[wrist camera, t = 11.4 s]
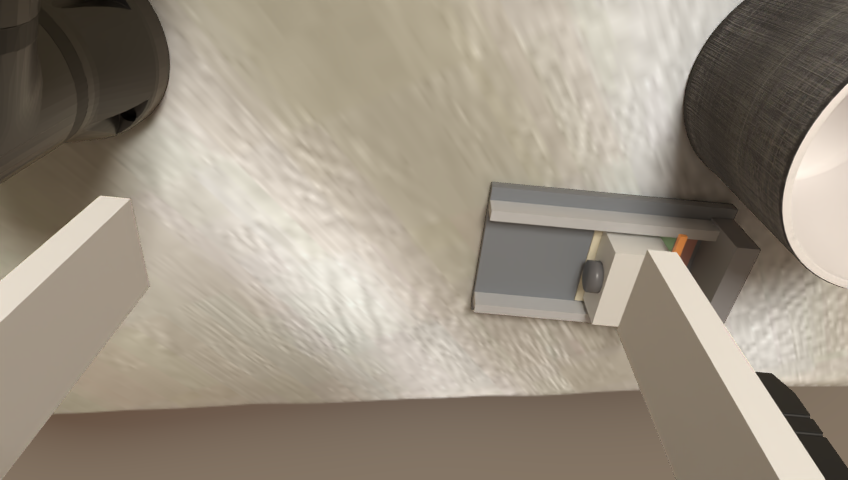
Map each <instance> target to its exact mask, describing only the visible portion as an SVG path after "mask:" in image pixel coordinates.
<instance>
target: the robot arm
mask: <svg viewBox="0 0 848 480" xmlns="http://www.w3.org/2000/svg"><path fill="white" fill-rule="evenodd" d="M168 76H169V54H168V48H167V42H166V39H165V35H164V32H163V29H162V26H161V24H160V21H159V19H158V17H157V15H156V13H155V11H154V9H153V7H152V6H151V4H150V2H149V1H148V0H0V184H1V183H2V182H4V181H5V180H7V179H8V178H10V177H11V176H13V175H14V174H16V173H18V172H19V171H21V170H22V169H24V168H25V167H27V166H29V165H30V164H32V163H33V162H35V161H36V160H38V159H39V158H41V157H43V156H44V155H46V154H47V153H49V152H50V151H52V150H53V149H55V148H56V147H58V146H59V145H61V144H63V143H68V142H77V141H86V140H95V139H103V138H108V137H112V136H115V135H118V134H120V133H123V132H125V131H127V130H129V129H130V128H132V127H133V126H135V125H136V124H138V123H139V122H140V121H142V120H143V119H145V118H146V117H147V116H148V115H150V114H151V113H152V111H153V110H154V109H155V108H156V107H157V105H158V104H159V102H160V101H161V99H162V97H163V95H164V92H165V89H166V86H167V82H168ZM149 287H150V283H149V279H148V274H147V270H146V265H145V261H144V256H143V252H142V247H141V243H140V238H139V234H138V229H137V225H136V220H135V216H134V211H133V207H132V202H131V199H129V198H119V197H109V196H99V197H98V198H97V199H95V200H94V201H93V202H92V203H91V204H90V205H88V206H87V207H86V208H85V209H84V210H83V211H81V212H80V213H79V214H78V215H77V216H76V217H74V218H73V219H72V220H71V221H70V222H68V223H67V224H66V225H65V226H64V227H63V228H61V229H60V230H59V231H58V232H57V233H56V234H54V235H53V236H52V237H51V238H50V239H49V240H47V241H46V242H45V243H44V244H43V245H42V246H40V247H39V248H38V249H37V250H36V251H35V252H33V253H32V254H31V255H30V256H29V257H28V258H26V259H25V260H24V261H23V262H22V263H21V264H19V265H18V266H17V267H16V268H15V269H14V270H12V271H11V272H10V273H9V274H8V275H7V276H5V277H4V278H3V279H2V280H1V281H0V480H2V479H3V478H4V476H5V475H6V474H7V472H8V471H9V470H10V468H11V467H12V466H13V465H14V463H15V462H16V461H17V459H18V458H19V457H20V455H21V454H22V453H23V451H24V450H25V449H26V448H27V446H28V445H29V444H30V442H31V441H32V439H33V438H34V437H35V436H36V435H37V433H38V432H39V431H40V429H41V428H42V427H43V425H44V424H45V423H46V421H47V420H48V419H49V418H50V416H51V415H52V414H53V412H54V411H55V410H56V408H57V407H58V406H59V404H60V403H61V402H62V401H63V399H64V398H65V397H66V395H67V394H68V393H69V391H70V390H71V389H72V388H73V386H74V385H75V384H76V382H77V381H78V380H79V378H80V377H81V376H82V374H83V373H84V372H85V371H86V369H87V368H88V367H89V365H90V364H91V363H92V361H93V360H94V359H95V357H96V356H97V355H98V354H99V352H100V351H101V350H102V348H103V347H104V346H105V344H106V343H107V342H108V340H109V339H110V338H111V337H112V335H113V334H114V333H115V331H116V330H117V329H118V327H119V326H120V325H121V323H122V322H123V321H124V320H125V318H126V317H127V316H128V314H129V313H130V312H131V310H132V309H133V308H134V307H135V305H136V304H137V303H138V301H139V300H140V299H141V297H142V296H143V295H144V293H145V292H146V291H147V290H148V288H149ZM617 332H618V335H619V337H620V340H621V342H622V345H623V347H624V350H625V353H626V355H627V358H628V360H629V363H630V365H631V368H632V370H633V373H634V375H635V378H636V380H637V383H638V385H639V388H640V390H641V393H642V395H643V398H644V400H645V403H646V406H647V408H648V410H649V413H650V416H651V418H652V421H653V423H654V426H655V428H656V431H657V433H658V436H659V438H660V441H661V443H662V446H663V448H664V451H665V454H666V456H667V458H668V461H669V464H670V466H671V469H672V471H673V474H674V476H675V479H676V480H848V468H847V466H846V465H845V464H844V462H843V461H842V459H841V458H840V456H839V455H838V454H837V452H836V451H835V449H834V448H833V447H832V445H831V444H830V442H829V441H828V440H827V438H825V437H823V435H822V434H823V432H822V431H821V430H820V428H819V427H818V425H817V424H816V422H815V421H814V420H813V419H810V414H809V413H808V411H807V410H806V408H805V407H804V406H803V404H802V403H801V401H800V400H799V398H798V397H797V396H796V394H795V393H794V392H793V391H792V390H791V389H789V388H788V387H787V386H786V385H785V384H784V383H782V382H781V381H780V380H779V379H778V378H777V377H775V376H774V375H773V374H772V373H762V372H755V371H754V370H753V368H752V367H751V365H750V363H749V362H748V360H747V359H746V357H745V356H744V354H743V353H742V351H741V350H740V348H739V347H738V345H737V344H736V342H735V341H734V339H733V337H732V336H731V334H730V333H729V331H728V330H727V328H726V327H725V325H724V324H723V322H722V321H721V319H720V318H719V316H718V315H717V313H716V311H715V310H714V308H713V307H712V305H711V304H710V302H709V301H708V299H707V298H706V296H705V295H704V293H703V292H702V290H701V289H700V287H699V285H698V284H697V282H696V281H695V279H694V278H693V276H692V275H691V273H690V272H689V270H688V269H687V267H686V266H685V264H684V263H683V261H682V259H681V258H680V256H679V255H678V253H677V252H668V251H658V250H648V249H647V252H646V254H645V257H644V260H643V262H642V265H641V268H640V270H639V273H638V276H637V278H636V281H635V284H634V286H633V289H632V292H631V294H630V297H629V300H628V302H627V305H626V307H625V310H624V313H623V315H622V318H621V321H620V323H619V326H618V329H617Z"/></svg>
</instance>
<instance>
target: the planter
mask: <svg viewBox="0 0 848 480" xmlns="http://www.w3.org/2000/svg"><path fill="white" fill-rule="evenodd" d="M684 119H685V126H686V131H687V135H688V138H689V140H690V143H691V145H692V147H693V149H694V151H695V152H696V154H697V155H698V156H699V158H700V159H701V160H702V161H703V162H704V164H705V165H706V166H707V167H709V168H710V169H711V170H712V171H713V172H714V173H716V174H717V176H718V177H719V178H720V179H721V180H722V181H723V182H724V183H725V184H726V185H727V186H728V187H729V188H730V189H731V190H732V191H733V192H734V193H735V194H736V196H737V197H738V198H739V199H740V200H741V201H742V202H743V203H744V204H745V205H746V206H747V207H748V208H749V209H750V210H751V211H752V212H753V213H754V214H755V215H756V217H757V218H758V219H759V220H760V221H761V222H762V223H763V224H764V225H765V226H766V227H767V228H768V229H769V230H770V231H771V232H772V233H773V234H774V235H775V236H776V237H777V238H778V239H779V241H780V242H781V243H782V244H783V245H784V246H785V247H786V248H787V249H788V250H789V251H790V252H791V253H792V254H793V255H794V256H795V257H796V258H797V259H798V260H799V261H800V262H801V263H802V264H803V265H804V266H805V267H806V268H807V269H808V270H809V271H811V272H812V273H813V274H815V275H816V276H818V277H819V278H821V279H823V280H825V281H827V282H829V283H831V284H834V285H836V286H839V287H842V288H846V289H848V0H744V1H743V2H742V3H741V4H740V5H739V6H737V7H736V8H735V9H734V10H733V11H732V12H731V13H730V14H729V15H728V16H727V17H726V18H725V19H724V20H723V22H722V23H721V24H720V25H719V26H718V27H717V29H716V30H715V31H714V33H713V34H712V35H711V37H710V38H709V40H708V41H707V43H706V44H705V46H704V47H703V49H702V51H701V53H700V54H699V56H698V58H697V60H696V62H695V65H694V67H693V70H692V72H691V75H690V78H689V81H688V85H687V89H686V95H685V103H684Z"/></svg>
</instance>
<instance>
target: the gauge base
mask: <svg viewBox="0 0 848 480" xmlns="http://www.w3.org/2000/svg"><path fill="white" fill-rule="evenodd" d="M737 211H738V209H737V208H736V207H735V206H734V205H733V204H722V203H712V202H701V201H690V200H680V199H669V198H658V197H648V196H637V195H626V194H616V193H605V192H595V191H584V190H573V189H563V188H552V187H541V186H531V185H520V184H509V183H499V182H491V188H490V194H489V200H488V206H487V212H486V218H485V224H484V230H483V236H482V242H481V247H480V253H479V259H478V265H477V271H476V277H475V283H474V289H473V295H472V301H471V309H472V310H474V312H477V313H488V314H499V315H510V316H521V317H532V318H544V319H555V320H566V321H577V322H588V323H591V320H590V317H589V314H588V311H587V308H586V305H585V302H584V299H583V296H584V293H585V291H584V289H583V285H582V273H583V268H584V265H585V262H586V261H587V260H595V257H596V254H597V250H598V247H599V244H600V241H601V237H602V234H603V231H608V232H619V233H629V234H640V235H651V236H660V237H661V239H662V240H663V242H664V243H665V245H666V246H667V248H668V250H669V251H670V252H672V250H673V248H674V245H675V242H676V240H677V237H678V235H679V234H684V235H687V237H688V238H687V241H686V243H685V246H684V248H683V250H682V253H681V255H680V258H681V259H682V261H683V263H684V264H685V266H686V267H687V269H688V270H689V272H690V273H691V275H692V276H693V278H694V279H695V281H696V282H697V284H698V285H699V287H700V289H701V290H702V292H703V293H704V295H705V296H706V298H707V299H708V301H709V302H710V304H711V305H712V307H713V308H714V310H715V311H716V313H717V315H718V316H719V318H720V319H721V321H722V322H723V324H724V323H725V321H726V319H727V317H728V315H729V313H730V311H731V309H732V307H733V305H734V303H735V301H736V299H737V297H738V295H739V293H740V291H741V289H742V287H743V285H744V283H745V281H746V279H747V277H748V275H749V273H750V271H751V269H752V267H753V265H754V263H755V261H756V259H757V257H758V255H759V253H760V251H761V249H760V248H759V247H758V246H757V245H756V244H755V243H754V242H753V241H752V239H751V238H750V237H749V236H748V235H747V234H746V233H745V232H744V230H743V229H742V228H741V227H740V226H739V225H738V224H737V223H736V222H735V220H734V218H735V216H736V213H737Z"/></svg>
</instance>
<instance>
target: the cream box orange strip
mask: <svg viewBox="0 0 848 480" xmlns="http://www.w3.org/2000/svg"><path fill="white" fill-rule="evenodd" d="M687 238H688V237H687V235H684V234H679V235H678V237H677V240H676V242H675V245H674V248H673V250H672V252H677V253H678V255H679V256H680V255H681V253H682V250H683V248H684V246H685V243H686V241H687ZM647 249H648V250H658V251H668V252H670V251H669V250H668V248H667V246H666V245H665V243H664V242H663V240H662V239H661V237H660V236H651V235H640V234H629V233H619V232H608V231H603V234H602V237H601V241H600V244H599V247H598V250H597V254H596V257H595V260H587V261H586V262H585V265H584V268H583V273H582V285H583V289H584V291H585V293H584V296H583V299H584V302H585V305H586V308H587V311H588V314H589V317H590V320H591V323H592V324H593V325H604V326H615V327H618V326H619V323H620V321H621V318H622V315H623V313H624V310H625V307H626V305H627V302H628V300H629V297H630V294H631V292H632V289H633V286H634V284H635V281H636V278H637V276H638V273H639V270H640V268H641V265H642V262H643V260H644V257H645V254H646V252H647Z"/></svg>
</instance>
